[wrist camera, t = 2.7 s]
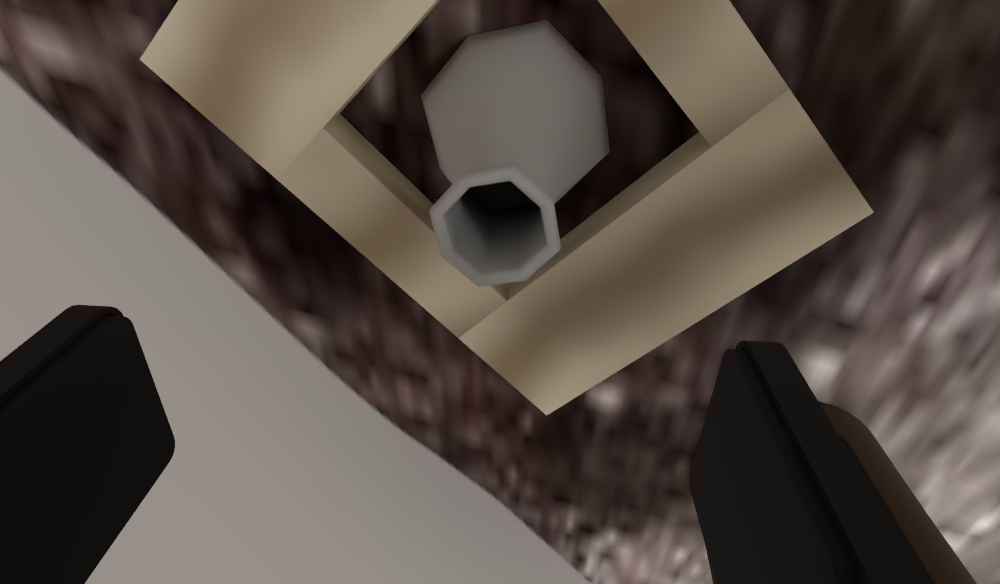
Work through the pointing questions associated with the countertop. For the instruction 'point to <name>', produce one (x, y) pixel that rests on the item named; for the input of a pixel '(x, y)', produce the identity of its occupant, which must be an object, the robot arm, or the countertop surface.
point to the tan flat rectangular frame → (584, 250)
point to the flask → (511, 147)
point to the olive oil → (898, 501)
